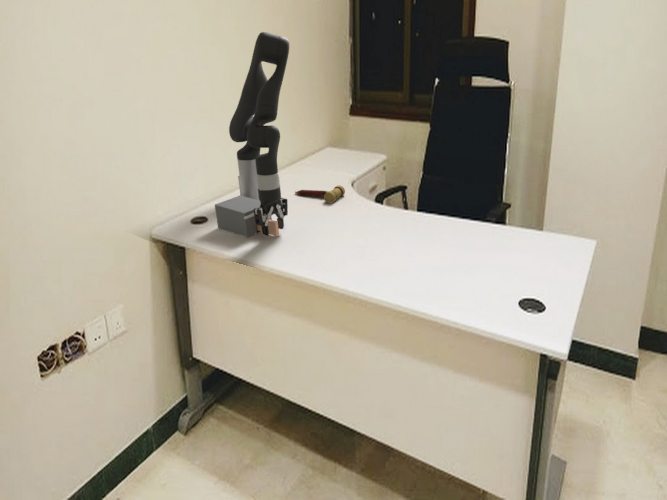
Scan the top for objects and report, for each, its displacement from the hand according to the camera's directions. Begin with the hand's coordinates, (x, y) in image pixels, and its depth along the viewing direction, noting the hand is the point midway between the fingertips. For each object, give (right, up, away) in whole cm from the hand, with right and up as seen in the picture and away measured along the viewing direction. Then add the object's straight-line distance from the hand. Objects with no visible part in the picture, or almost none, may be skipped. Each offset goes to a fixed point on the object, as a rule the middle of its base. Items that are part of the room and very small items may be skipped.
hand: (273, 231), depth 195 cm
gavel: (+14, +15, +37) cm, 43 cm away
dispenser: (-11, +2, +10) cm, 15 cm away
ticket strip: (-7, +1, +6) cm, 10 cm away
